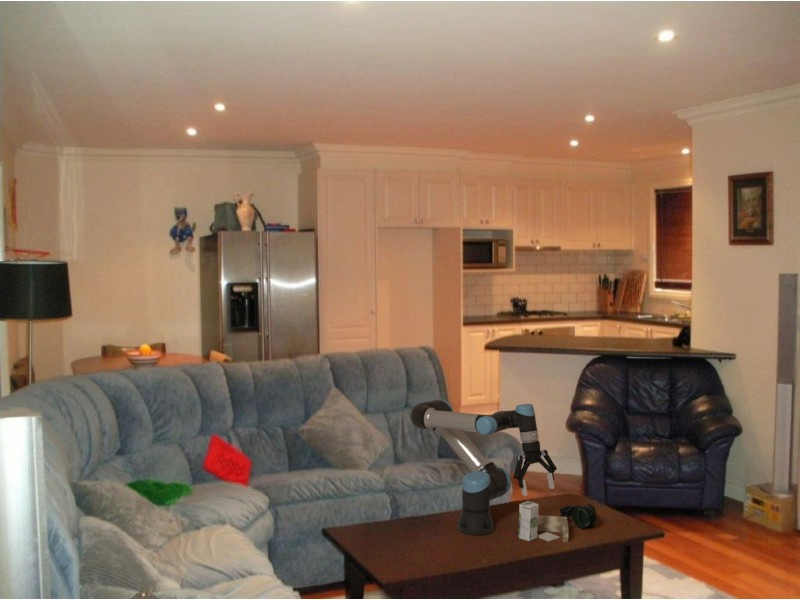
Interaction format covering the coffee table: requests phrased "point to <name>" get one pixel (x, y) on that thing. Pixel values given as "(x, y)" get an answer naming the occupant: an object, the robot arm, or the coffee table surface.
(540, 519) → the beige l-shaped wall
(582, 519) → the headphones
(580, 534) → the coffee table surface
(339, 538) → the coffee table surface
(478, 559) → the coffee table surface
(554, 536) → the pad
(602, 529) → the coffee table surface
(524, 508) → the syrup box
